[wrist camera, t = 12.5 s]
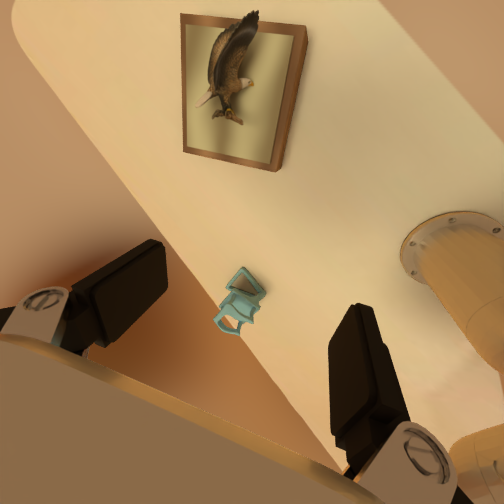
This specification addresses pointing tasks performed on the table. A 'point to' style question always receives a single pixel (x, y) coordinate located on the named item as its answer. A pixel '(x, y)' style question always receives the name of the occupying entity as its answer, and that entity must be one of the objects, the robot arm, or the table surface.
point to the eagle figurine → (229, 64)
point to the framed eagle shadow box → (242, 92)
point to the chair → (239, 304)
